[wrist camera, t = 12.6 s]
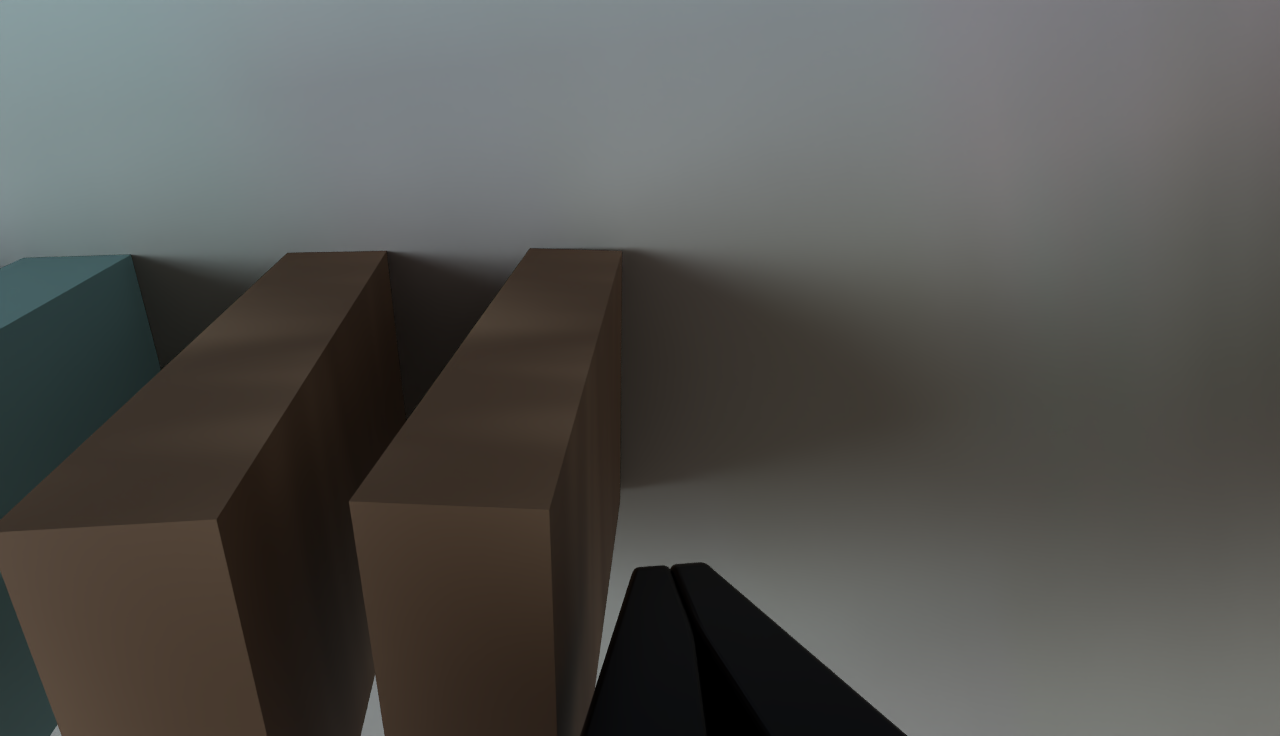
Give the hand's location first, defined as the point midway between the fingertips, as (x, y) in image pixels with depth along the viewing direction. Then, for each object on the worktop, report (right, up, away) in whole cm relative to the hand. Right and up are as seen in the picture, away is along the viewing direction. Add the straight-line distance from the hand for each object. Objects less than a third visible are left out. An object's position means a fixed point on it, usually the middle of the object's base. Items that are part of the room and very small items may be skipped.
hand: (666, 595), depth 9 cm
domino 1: (-5, +2, +5) cm, 8 cm away
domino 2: (-1, +2, +5) cm, 6 cm away
